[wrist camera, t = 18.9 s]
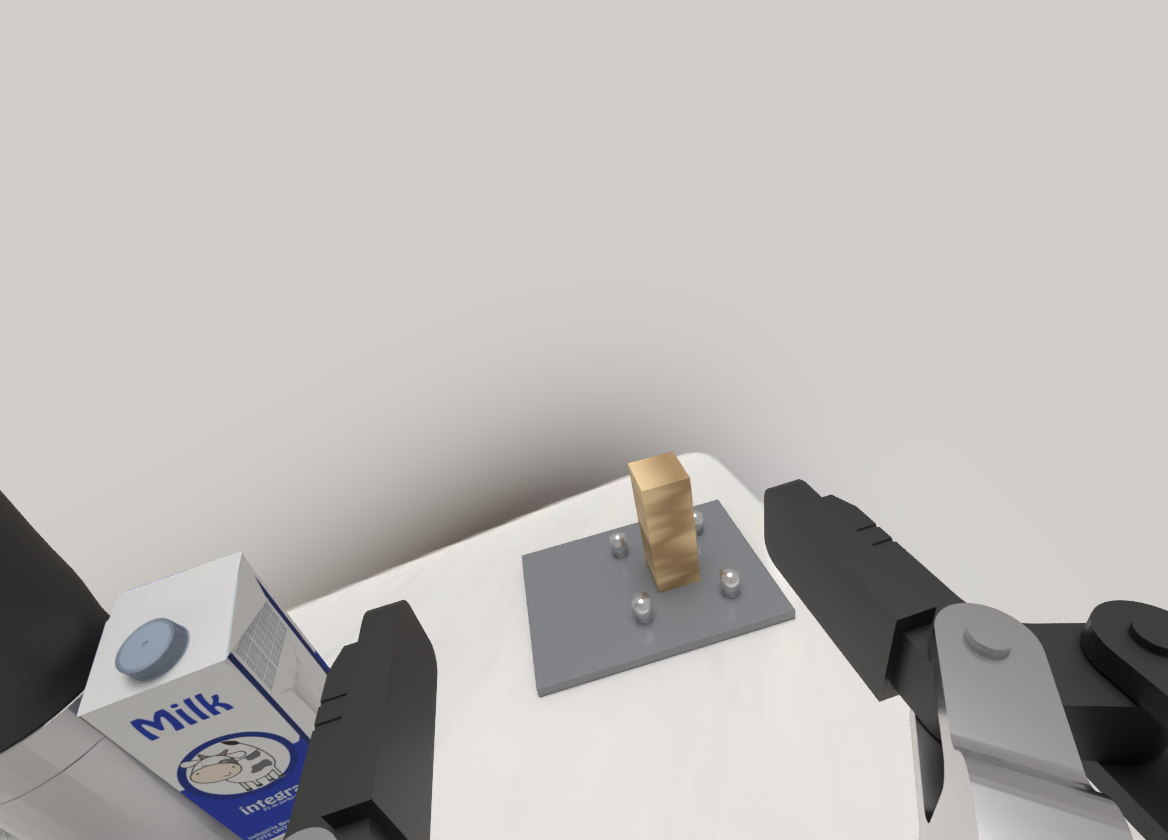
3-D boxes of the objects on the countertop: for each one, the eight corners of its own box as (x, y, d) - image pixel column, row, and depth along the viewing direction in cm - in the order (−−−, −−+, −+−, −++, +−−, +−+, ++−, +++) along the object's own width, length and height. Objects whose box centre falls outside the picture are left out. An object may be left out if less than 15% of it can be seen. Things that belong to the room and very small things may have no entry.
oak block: (659, 593, 44) (641, 491, 38) (645, 561, 48) (628, 463, 42) (700, 580, 45) (689, 477, 39) (684, 550, 48) (672, 451, 42)
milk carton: (373, 720, 40) (241, 547, 30) (368, 811, 35) (203, 635, 25) (283, 759, 39) (114, 591, 29) (263, 859, 33) (44, 694, 23)
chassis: (539, 696, 39) (529, 671, 37) (524, 562, 52) (515, 538, 50) (794, 618, 41) (796, 590, 39) (718, 506, 54) (716, 481, 52)
